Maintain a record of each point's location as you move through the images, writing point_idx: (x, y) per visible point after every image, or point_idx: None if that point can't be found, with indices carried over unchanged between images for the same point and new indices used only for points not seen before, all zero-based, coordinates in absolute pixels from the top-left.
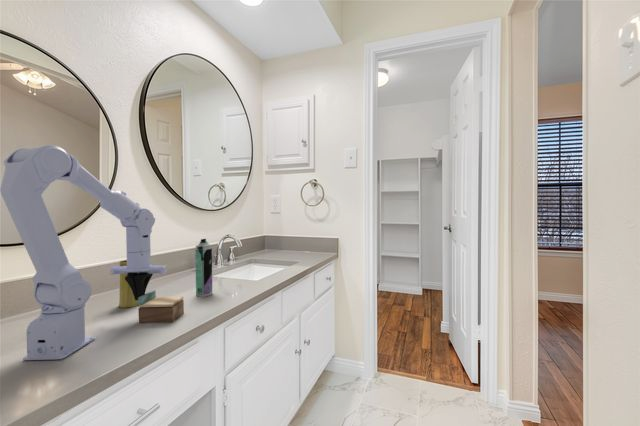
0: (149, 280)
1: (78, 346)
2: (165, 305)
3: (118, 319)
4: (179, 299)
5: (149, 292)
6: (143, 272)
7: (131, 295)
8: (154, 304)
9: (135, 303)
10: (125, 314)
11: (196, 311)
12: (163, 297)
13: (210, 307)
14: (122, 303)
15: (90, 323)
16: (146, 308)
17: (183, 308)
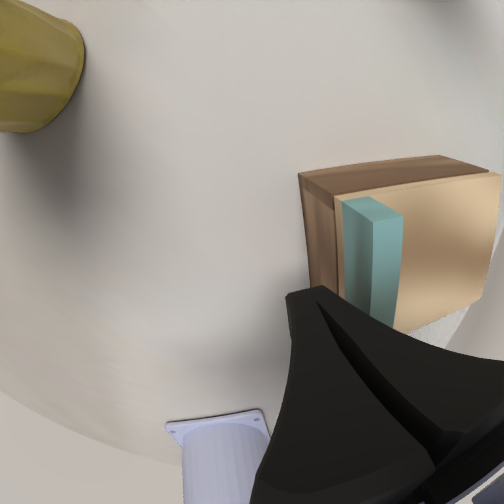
0: (448, 354)
1: (265, 438)
2: (457, 306)
3: (168, 279)
4: (495, 225)
5: (383, 289)
6: (456, 496)
7: (26, 94)
8: (420, 324)
9: (71, 76)
10: (136, 211)
11: (470, 135)
12: (424, 200)
13: (490, 90)
14: (17, 131)
15: (95, 332)
16: None
17: (454, 160)
